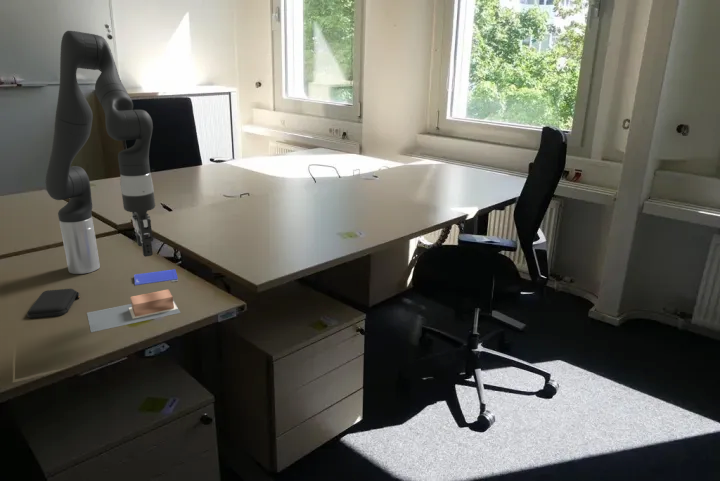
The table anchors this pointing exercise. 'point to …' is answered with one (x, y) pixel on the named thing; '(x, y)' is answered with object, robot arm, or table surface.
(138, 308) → the block
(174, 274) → the hard drive
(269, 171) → the table surface
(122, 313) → the mat
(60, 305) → the carrying case or bag
